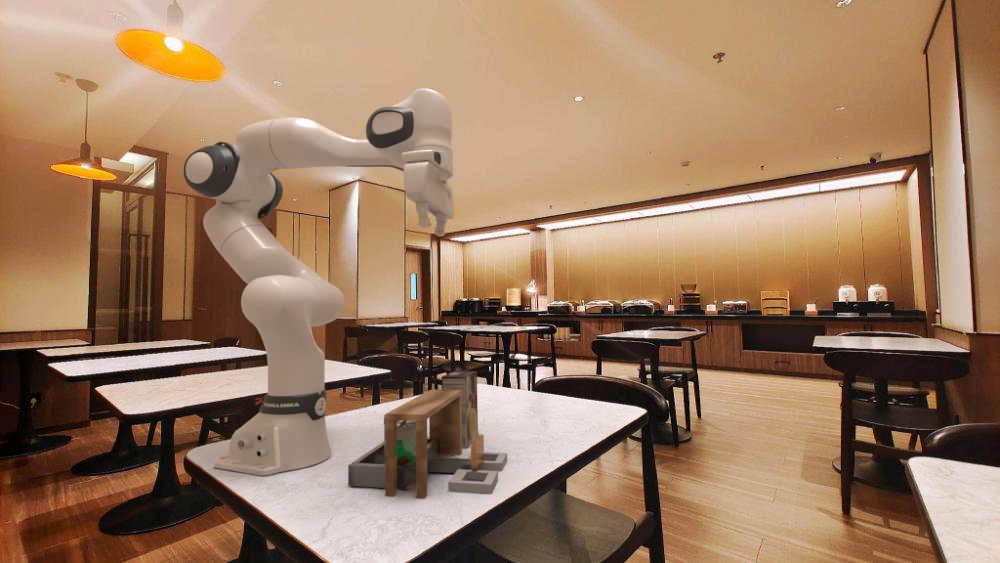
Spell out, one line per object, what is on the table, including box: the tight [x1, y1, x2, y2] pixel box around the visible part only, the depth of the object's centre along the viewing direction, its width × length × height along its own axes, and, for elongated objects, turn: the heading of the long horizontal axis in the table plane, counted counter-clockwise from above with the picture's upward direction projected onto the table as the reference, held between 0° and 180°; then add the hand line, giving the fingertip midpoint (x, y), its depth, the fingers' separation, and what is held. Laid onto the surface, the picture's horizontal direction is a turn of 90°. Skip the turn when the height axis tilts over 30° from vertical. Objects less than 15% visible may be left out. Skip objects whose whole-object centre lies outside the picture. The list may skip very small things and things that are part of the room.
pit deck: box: [447, 451, 508, 495], centre depth 78 cm, size 8×16×2 cm, turn 170°
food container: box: [383, 414, 416, 465], centre depth 80 cm, size 12×6×10 cm, turn 27°
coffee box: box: [441, 370, 479, 449], centre depth 99 cm, size 9×6×16 cm
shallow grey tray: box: [347, 433, 485, 490], centre depth 80 cm, size 22×18×6 cm
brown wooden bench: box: [384, 389, 463, 499], centre depth 80 cm, size 7×22×14 cm, turn 169°
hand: (432, 231), depth 86 cm, fingers open, 8 cm apart
